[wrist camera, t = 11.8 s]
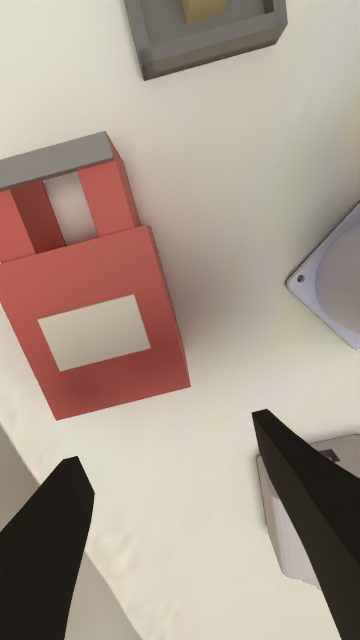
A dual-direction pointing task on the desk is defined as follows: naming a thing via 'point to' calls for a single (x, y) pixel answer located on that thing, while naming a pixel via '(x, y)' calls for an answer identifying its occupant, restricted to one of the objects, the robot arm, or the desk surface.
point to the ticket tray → (200, 33)
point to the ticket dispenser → (86, 285)
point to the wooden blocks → (202, 9)
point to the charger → (291, 555)
